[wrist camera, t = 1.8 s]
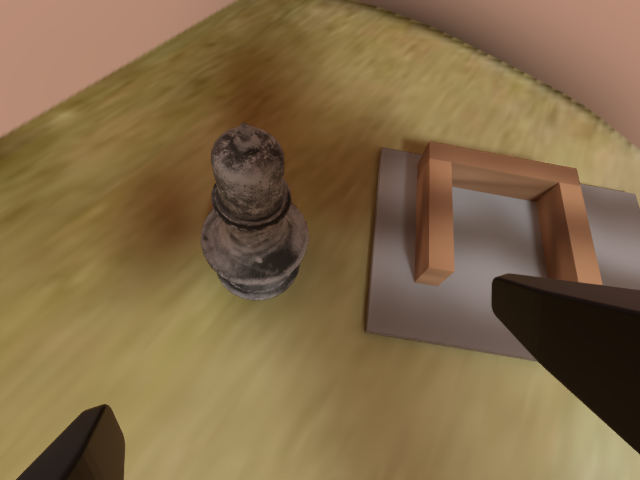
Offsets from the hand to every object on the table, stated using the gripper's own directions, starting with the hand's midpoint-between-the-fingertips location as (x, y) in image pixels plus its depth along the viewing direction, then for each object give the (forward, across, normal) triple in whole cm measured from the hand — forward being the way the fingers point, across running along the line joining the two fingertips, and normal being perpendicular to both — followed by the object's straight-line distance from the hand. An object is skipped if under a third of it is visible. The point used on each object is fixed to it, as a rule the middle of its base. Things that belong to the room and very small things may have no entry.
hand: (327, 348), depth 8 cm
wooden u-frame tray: (+12, -17, +7) cm, 22 cm away
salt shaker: (+16, 0, +4) cm, 16 cm away
